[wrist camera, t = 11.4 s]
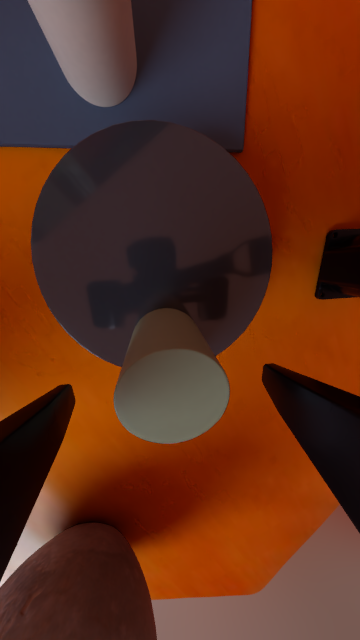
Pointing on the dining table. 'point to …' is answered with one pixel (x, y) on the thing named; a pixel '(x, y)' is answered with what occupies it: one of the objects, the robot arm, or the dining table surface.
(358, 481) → the robot arm
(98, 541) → the vase
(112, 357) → the cake stand
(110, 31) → the ivory candle
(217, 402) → the sage candle
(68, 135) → the placemat
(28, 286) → the dining table surface
